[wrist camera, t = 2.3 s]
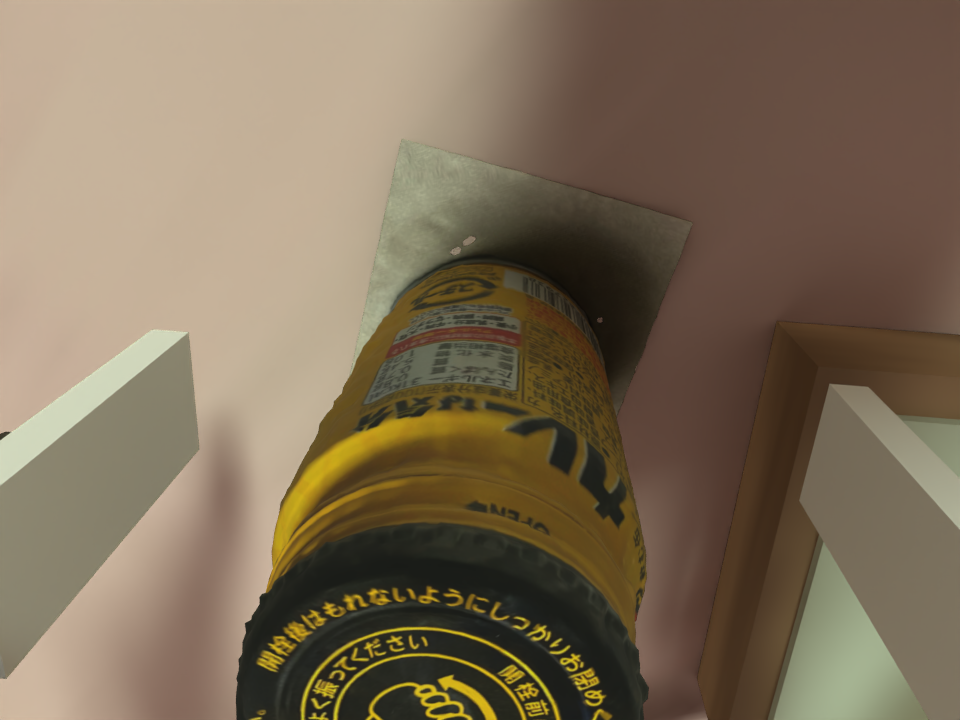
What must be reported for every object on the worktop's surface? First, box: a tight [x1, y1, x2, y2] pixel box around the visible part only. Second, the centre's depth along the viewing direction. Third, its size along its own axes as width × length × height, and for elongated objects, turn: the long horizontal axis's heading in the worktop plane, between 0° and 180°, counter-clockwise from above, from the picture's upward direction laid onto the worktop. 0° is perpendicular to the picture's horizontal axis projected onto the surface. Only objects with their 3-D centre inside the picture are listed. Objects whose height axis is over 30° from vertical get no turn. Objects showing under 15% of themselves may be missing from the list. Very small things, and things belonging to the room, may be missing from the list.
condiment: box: [236, 139, 693, 720], centre depth 14 cm, size 7×8×12 cm
